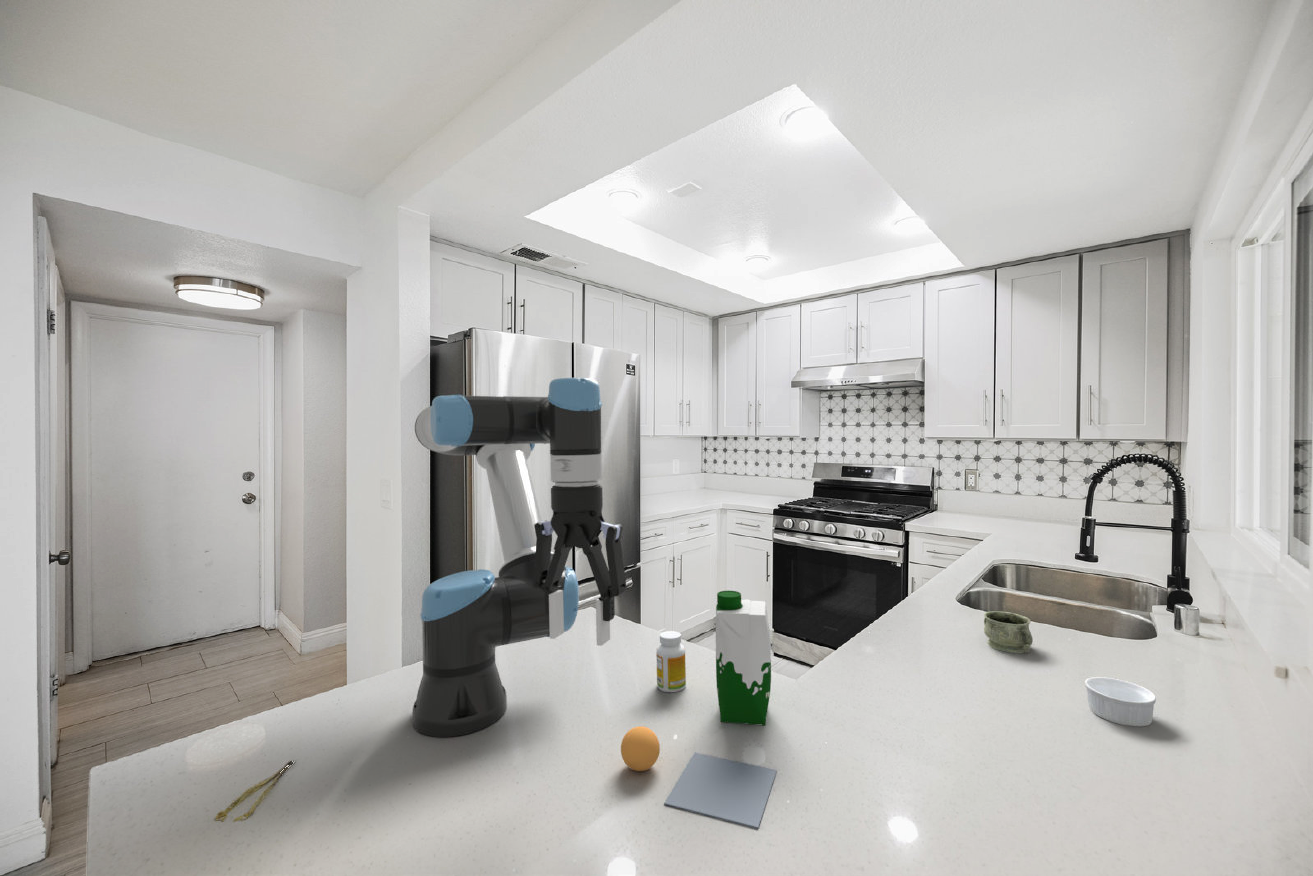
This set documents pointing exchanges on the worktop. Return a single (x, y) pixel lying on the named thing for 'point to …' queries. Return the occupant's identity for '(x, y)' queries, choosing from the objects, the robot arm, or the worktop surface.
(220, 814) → the tongs
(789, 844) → the worktop surface
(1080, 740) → the worktop surface
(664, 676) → the supplement bottle
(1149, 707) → the ramekin
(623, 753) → the ball
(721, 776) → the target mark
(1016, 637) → the vessel
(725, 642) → the milk carton
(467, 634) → the robot arm
